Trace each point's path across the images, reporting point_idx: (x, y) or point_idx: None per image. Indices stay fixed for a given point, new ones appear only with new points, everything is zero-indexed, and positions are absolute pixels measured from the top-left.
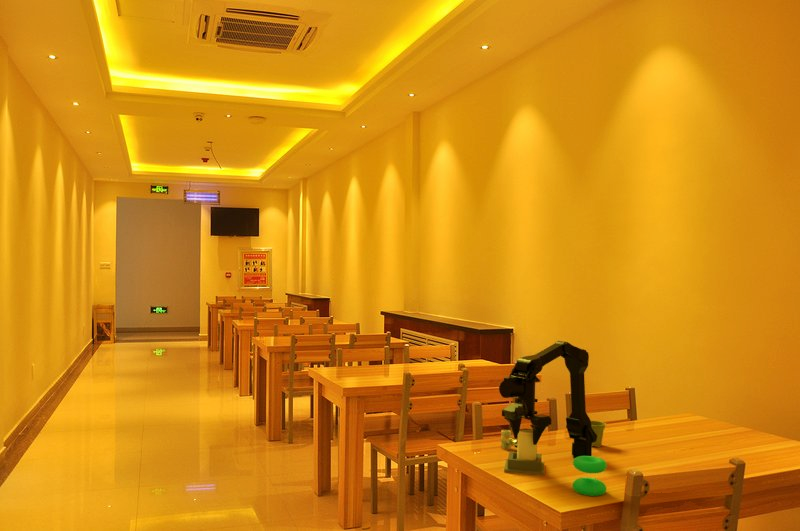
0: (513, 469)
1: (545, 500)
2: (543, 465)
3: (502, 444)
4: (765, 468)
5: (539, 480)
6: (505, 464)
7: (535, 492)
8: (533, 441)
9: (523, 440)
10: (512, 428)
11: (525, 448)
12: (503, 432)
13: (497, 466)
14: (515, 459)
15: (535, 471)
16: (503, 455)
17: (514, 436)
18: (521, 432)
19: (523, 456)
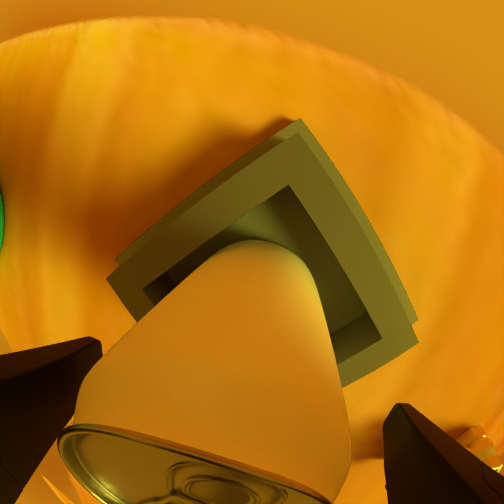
0: (255, 157)
1: (22, 47)
2: None
3: (480, 435)
4: (65, 499)
5: (93, 167)
6: (364, 215)
7: (51, 54)
8: (72, 347)
9: (169, 318)
10: (474, 470)
11: (181, 286)
12: (494, 465)
13: (401, 196)
14: (256, 185)
15: (147, 235)
16: (457, 379)
17: (415, 415)
18: (193, 429)
19: (220, 256)
